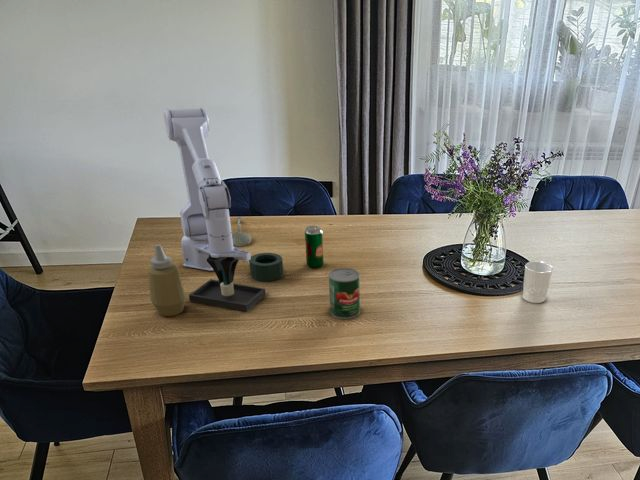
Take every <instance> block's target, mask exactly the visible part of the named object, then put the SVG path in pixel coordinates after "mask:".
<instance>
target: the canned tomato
mask: <svg viewBox="0 0 640 480" xmlns="http://www.w3.org/2000/svg"><path fill="white" fill-rule="evenodd" d="M360 276H361V274H360V272H359V271H358V270H356V269H354V268H349V267H339V268H335V269H332V270H331V271H329V273H328V288H329V289H328V290H329V291H328V293H329V314H330V315H331V316H332V317H334V318H335V319H339V320H350V319H353V318H356V317H358V316H359V315H360V313H361V302H360V301H361V298H360V297H361V293H360V292H361V291H360V290H361V289H360V287H361V286H360V285H361V283H360V282H361V280H360V279H361V277H360Z"/></svg>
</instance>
